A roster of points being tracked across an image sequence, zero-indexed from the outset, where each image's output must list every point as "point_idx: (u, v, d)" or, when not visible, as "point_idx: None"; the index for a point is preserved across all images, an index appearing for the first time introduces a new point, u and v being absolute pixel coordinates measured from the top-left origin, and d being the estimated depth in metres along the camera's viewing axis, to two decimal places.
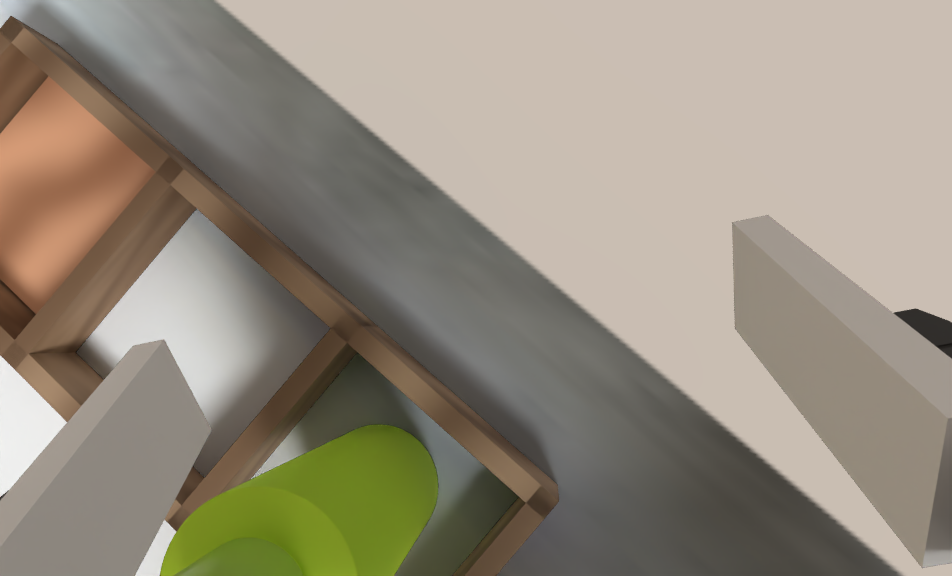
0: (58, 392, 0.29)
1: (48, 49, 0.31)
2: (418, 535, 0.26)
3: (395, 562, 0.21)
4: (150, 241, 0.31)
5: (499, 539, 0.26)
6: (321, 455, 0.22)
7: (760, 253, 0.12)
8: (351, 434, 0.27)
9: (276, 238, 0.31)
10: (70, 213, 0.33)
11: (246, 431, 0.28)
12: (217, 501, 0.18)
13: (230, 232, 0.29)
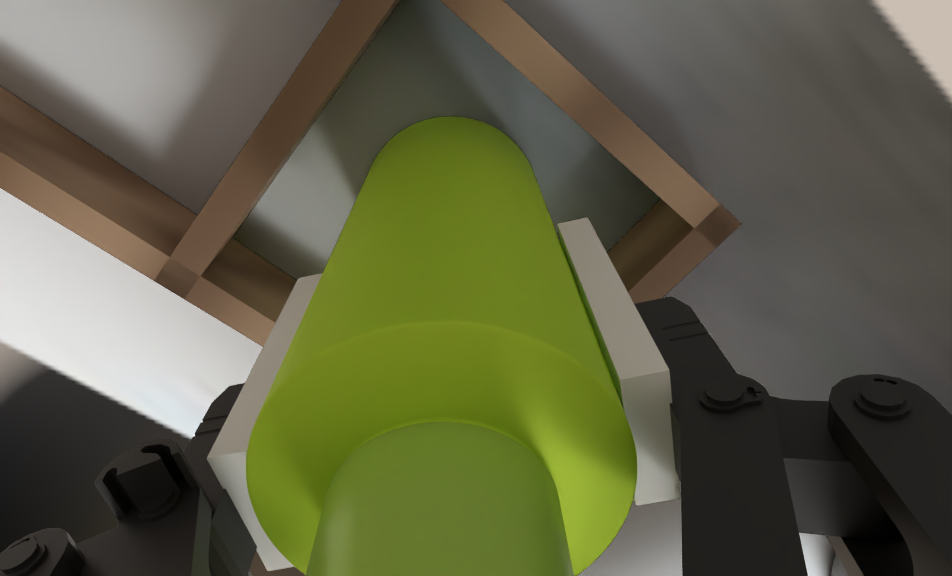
0: None
1: None
2: None
3: None
4: None
5: (649, 276, 0.19)
6: (447, 201, 0.12)
7: (567, 250, 0.14)
8: (432, 141, 0.17)
9: None
10: None
11: (251, 142, 0.17)
12: (344, 353, 0.08)
13: None
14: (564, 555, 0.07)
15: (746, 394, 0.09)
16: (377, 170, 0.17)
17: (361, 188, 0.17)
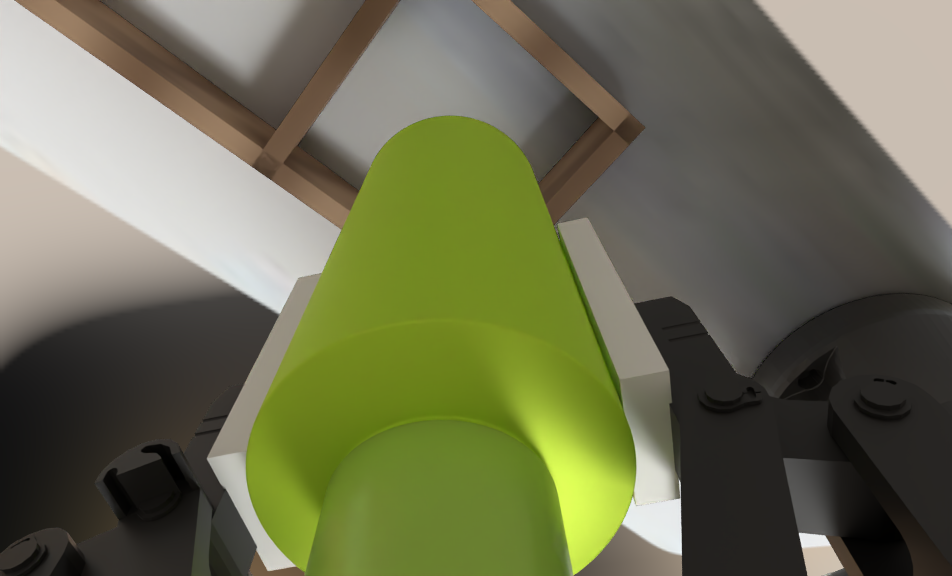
0: (82, 28, 0.25)
1: None
2: None
3: None
4: None
5: (585, 165, 0.28)
6: (446, 200, 0.12)
7: (566, 250, 0.14)
8: (431, 140, 0.17)
9: None
10: None
11: (321, 69, 0.26)
12: (343, 351, 0.08)
13: None
14: (563, 552, 0.07)
15: (746, 394, 0.09)
16: (377, 169, 0.17)
17: (361, 187, 0.18)
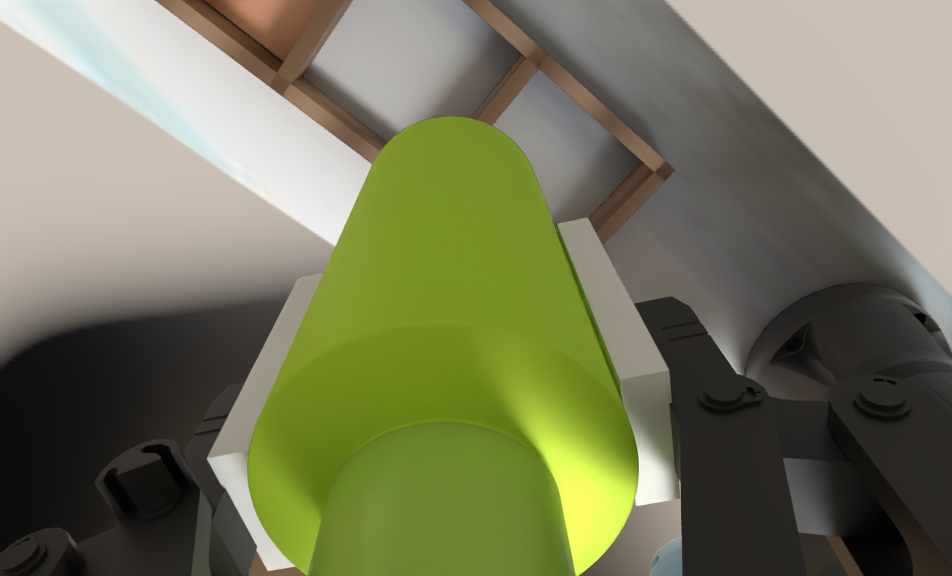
0: (320, 112, 0.40)
1: None
2: None
3: None
4: None
5: (635, 194, 0.43)
6: (448, 201, 0.12)
7: (566, 250, 0.14)
8: (432, 141, 0.17)
9: None
10: None
11: None
12: (345, 353, 0.08)
13: None
14: (566, 555, 0.07)
15: (746, 394, 0.09)
16: (378, 170, 0.17)
17: (362, 188, 0.17)
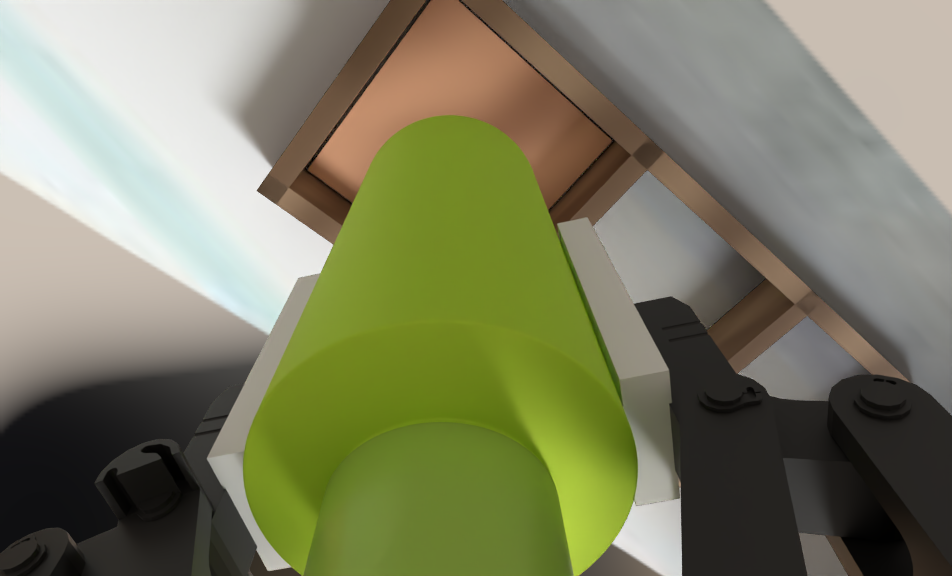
0: None
1: None
2: None
3: None
4: None
5: None
6: (446, 200, 0.12)
7: (566, 250, 0.14)
8: (431, 140, 0.17)
9: None
10: None
11: None
12: (341, 353, 0.08)
13: (709, 219, 0.28)
14: (564, 556, 0.07)
15: (746, 394, 0.09)
16: (376, 169, 0.17)
17: (360, 187, 0.17)
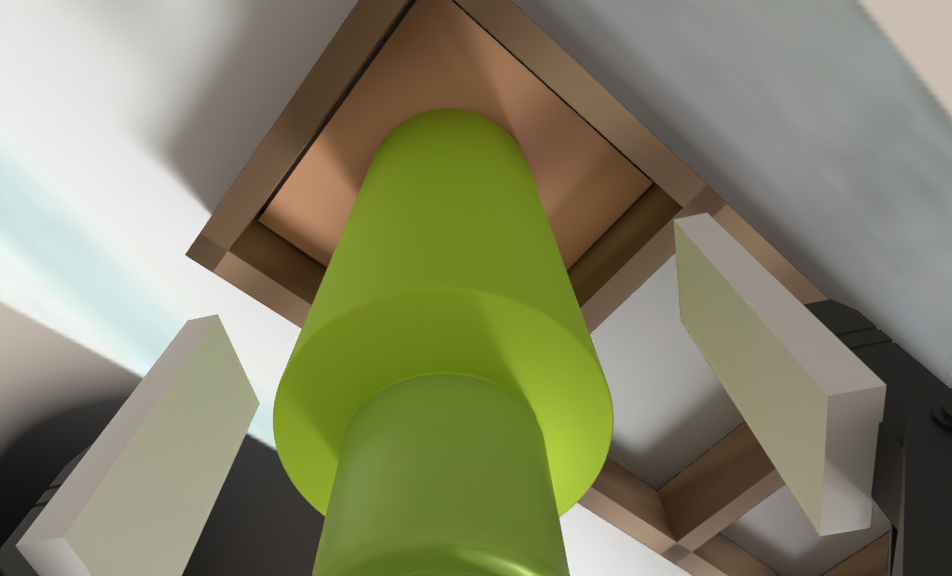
0: None
1: None
2: None
3: None
4: None
5: None
6: (447, 187, 0.14)
7: (694, 248, 0.13)
8: (432, 132, 0.18)
9: None
10: None
11: (759, 483, 0.26)
12: (360, 315, 0.10)
13: None
14: (547, 482, 0.09)
15: None
16: (381, 159, 0.18)
17: (366, 176, 0.19)
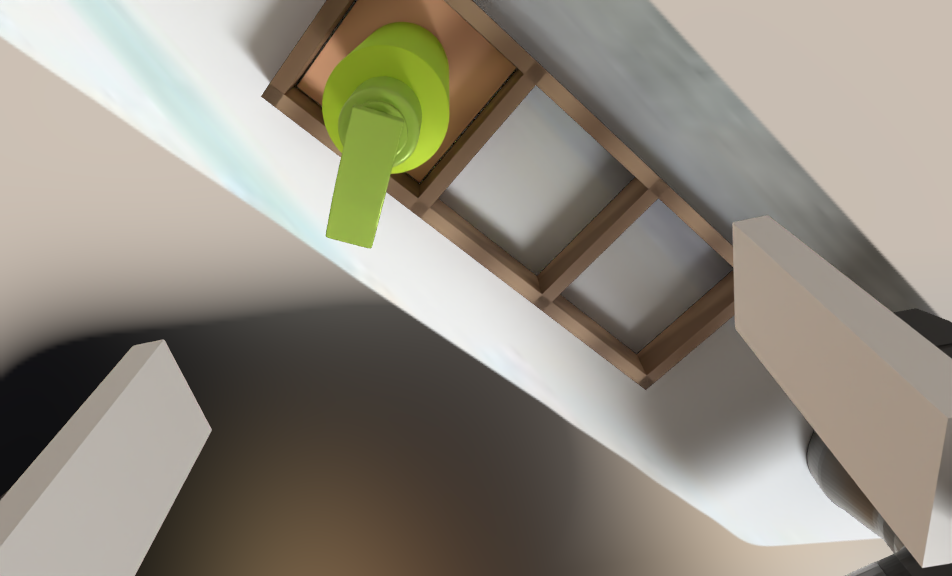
0: (454, 232, 0.43)
1: None
2: None
3: None
4: None
5: (732, 303, 0.46)
6: (392, 34, 0.32)
7: (760, 253, 0.12)
8: (391, 26, 0.36)
9: None
10: None
11: (586, 252, 0.44)
12: (355, 55, 0.28)
13: (582, 122, 0.40)
14: (416, 103, 0.27)
15: None
16: None
17: None
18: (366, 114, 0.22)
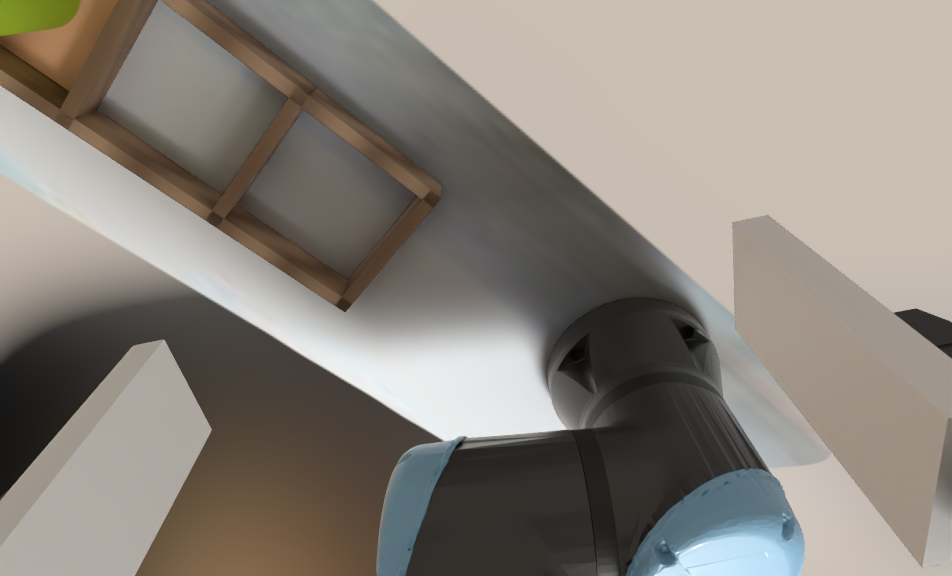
0: (106, 144, 0.43)
1: None
2: (51, 4, 0.39)
3: None
4: (135, 27, 0.42)
5: (408, 219, 0.47)
6: None
7: (760, 253, 0.12)
8: None
9: (231, 22, 0.43)
10: None
11: (244, 165, 0.44)
12: None
13: (202, 27, 0.40)
14: None
15: None
16: None
17: None
18: None
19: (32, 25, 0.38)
